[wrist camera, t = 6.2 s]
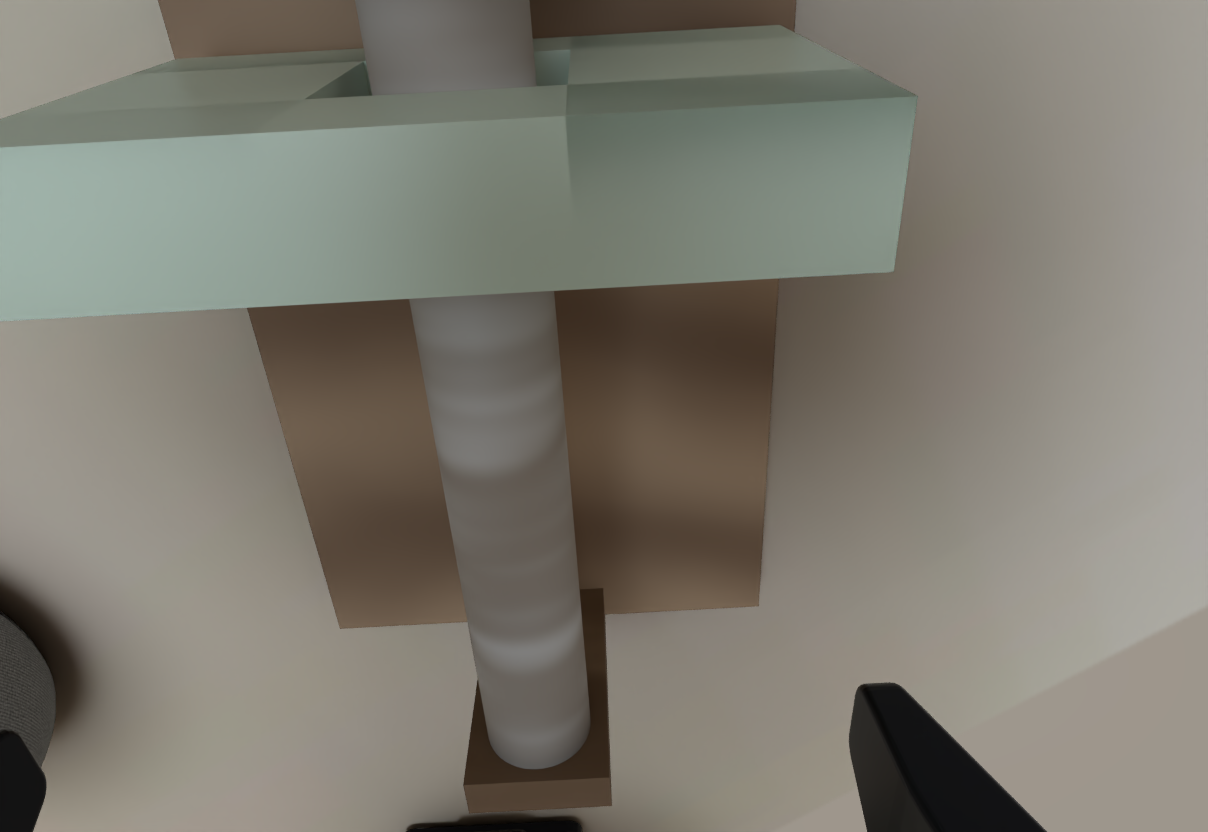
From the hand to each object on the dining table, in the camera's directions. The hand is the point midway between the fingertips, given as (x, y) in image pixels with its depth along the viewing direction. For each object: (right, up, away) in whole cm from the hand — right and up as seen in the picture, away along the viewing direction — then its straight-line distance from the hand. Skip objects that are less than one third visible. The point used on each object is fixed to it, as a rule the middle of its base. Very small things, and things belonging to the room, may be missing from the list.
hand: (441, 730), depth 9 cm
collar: (0, +9, +7) cm, 11 cm away
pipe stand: (0, +6, +11) cm, 13 cm away
